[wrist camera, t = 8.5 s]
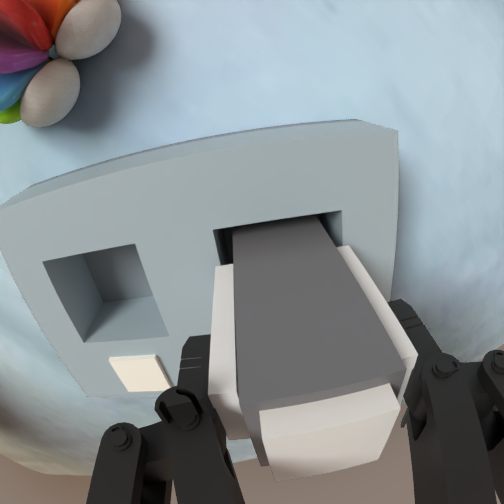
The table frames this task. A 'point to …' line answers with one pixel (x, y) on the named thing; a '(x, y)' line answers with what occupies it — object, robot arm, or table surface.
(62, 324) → the socket box
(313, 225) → the plug
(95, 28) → the rainbow petal fan toy
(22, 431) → the table surface
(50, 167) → the table surface
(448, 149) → the table surface
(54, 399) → the table surface
